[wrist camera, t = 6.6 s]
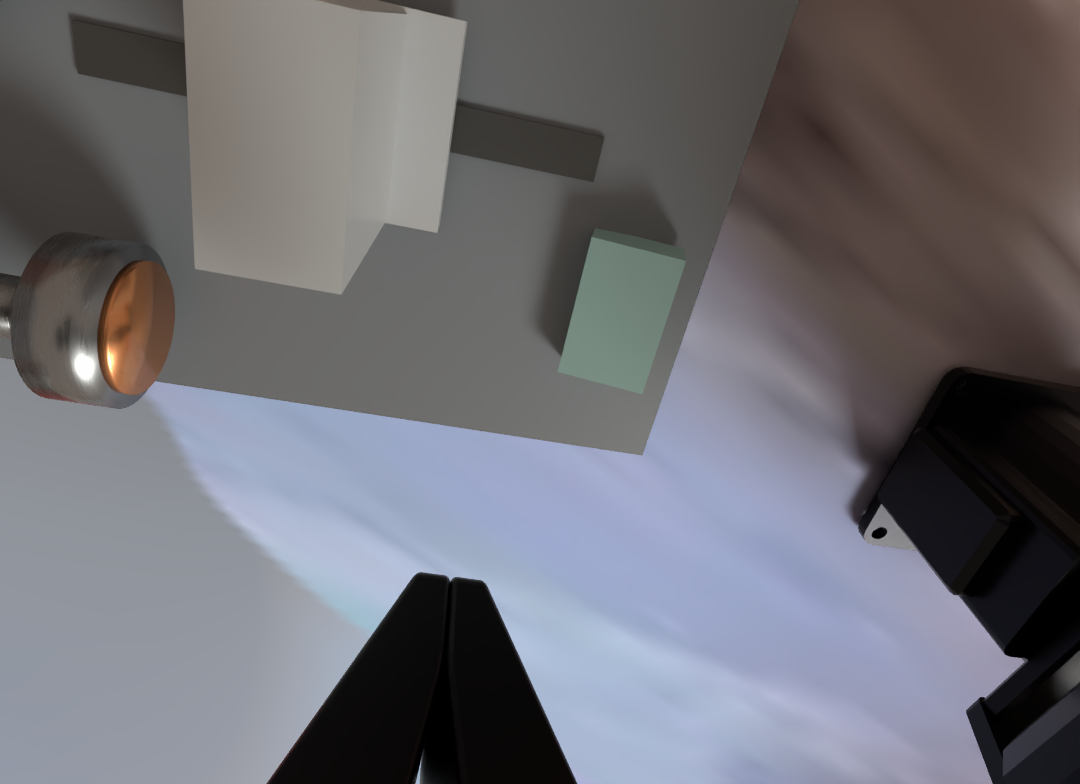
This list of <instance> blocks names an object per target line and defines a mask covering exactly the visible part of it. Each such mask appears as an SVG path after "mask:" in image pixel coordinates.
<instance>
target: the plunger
mask: <svg viewBox="0 0 1080 784" xmlns="http://www.w3.org/2000/svg"><path fill="white" fill-rule="evenodd" d="M174 323H175V300H174V292H173V288H172V284H171V281H170V278H169V276H168V274H167V271H166V268H165V265H164V263H163V261H162V259H161V258H160V256H159V255H158V253H157V252H156V251H155V250H154V249H153V248H151V247H150V246H148V245H145V244H140V243H135V242H129V241H124V240H118V239H113V238H107V237H101V236H96V235H90V234H85V233H79V232H71V231H68V232H62V233H59V234H56V235H54V236H53V237H51V238H49V239H48V240H47V241H46V242H44V243H43V244H42V245H41V246H40V247H39V248H38V249H37V250H36V252H35V253H34V254H33V256H32V257H31V259H30V260H29V262H28V263H27V265H26V267H25V269H24V271H23V273H22V276H15V275H9V274H3V273H0V338H7V339H11V346H12V353H13V357H14V361H15V364H16V367H17V370H18V372H19V374H20V376H21V378H22V379H23V381H24V383H25V384H26V385H27V387H28V388H29V389H31V390H32V391H33V392H34V393H36V394H37V395H39V396H41V397H44V398H48V399H55V400H61V401H68V402H75V403H82V404H89V405H95V406H102V407H109V408H117V409H122V408H126V407H129V406H131V405H132V404H134V403H135V402H137V401H138V400H139V399H140V398H141V397H142V396H143V395H144V394H145V392H146V391H147V390H148V388H149V387H150V386H151V385H152V384H153V383H154V382H155V380H156V379H157V377H158V376H159V374H160V372H161V370H162V368H163V366H164V364H165V361H166V359H167V356H168V353H169V350H170V346H171V342H172V337H173V331H174Z"/></svg>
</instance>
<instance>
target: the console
mask: <svg viewBox="0 0 1080 784" xmlns="http://www.w3.org/2000/svg"><path fill="white" fill-rule="evenodd" d="M380 1H384V2H388V3H392V4H397V5H401V6H405V7H409V8H413V9H417V10H422V11H426V12H430V13H434V14H438V15H443V16H447V17H451V18H455V19H459V20H463V21H468V23H467V30H466V38H465V45H464V52H463V59H462V67H461V74H460V81H459V89H458V96H457V103H456V110H455V118H454V125H453V132H452V139H451V147H450V154H449V161H448V168H447V176H446V183H445V190H444V197H443V205H442V212H441V219H440V226H439V229H438V232H437V233H435V232H430V231H425V230H419V229H414V228H409V227H404V226H399V225H393V224H388V223H384V225H383V227H382V228H381V230H380V232H379V233H378V235H377V237H376V238H375V240H374V242H373V243H372V245H371V246H370V248H369V250H368V251H367V253H366V255H365V256H364V258H363V260H362V261H361V263H360V265H359V266H358V268H357V270H356V271H355V273H354V275H353V276H352V278H351V279H350V281H349V283H348V284H347V286H346V288H345V289H344V291H343V293H342V294H341V295H340V294H334V293H329V292H323V291H317V290H312V289H306V288H300V287H295V286H289V285H283V284H278V283H272V282H266V281H261V280H255V279H249V278H244V277H238V276H232V275H227V274H221V273H215V272H210V271H204V270H198V269H195V262H194V240H193V217H192V194H191V172H190V149H189V127H188V104H187V81H186V59H185V36H184V14H183V0H0V273H3V274H9V275H15V276H22V273H23V271H24V269H25V267H26V265H27V263H28V262H29V260H30V259H31V257H32V256H33V254H34V253H35V252H36V250H37V249H38V248H39V247H40V246H41V245H42V244H43V243H44V242H46V241H47V240H48V239H49V238H51V237H53V236H54V235H56V234H59V233H62V232H68V231H71V232H79V233H85V234H90V235H96V236H101V237H107V238H113V239H118V240H124V241H129V242H135V243H140V244H145V245H148V246H150V247H151V248H153V249H154V250H155V251H156V252H157V253H158V255H159V256H160V258H161V259H162V261H163V263H164V265H165V268H166V271H167V274H168V276H169V278H170V281H171V284H172V288H173V292H174V300H175V323H174V331H173V337H172V342H171V346H170V350H169V353H168V356H167V359H166V361H165V364H164V366H163V368H162V370H161V372H160V374H159V376H158V377H157V379H156V380H155V381H158V382H164V383H171V384H177V385H184V386H190V387H197V388H203V389H210V390H217V391H223V392H230V393H236V394H243V395H249V396H256V397H263V398H269V399H276V400H282V401H289V402H295V403H302V404H308V405H315V406H322V407H328V408H335V409H341V410H348V411H354V412H361V413H368V414H374V415H381V416H387V417H394V418H400V419H407V420H413V421H420V422H427V423H433V424H440V425H446V426H453V427H459V428H466V429H472V430H479V431H486V432H492V433H499V434H505V435H512V436H518V437H525V438H532V439H538V440H545V441H551V442H558V443H564V444H571V445H577V446H584V447H591V448H597V449H604V450H610V451H617V452H623V453H630V454H637V455H643V452H644V449H645V446H646V443H647V440H648V437H649V434H650V431H651V429H652V426H653V423H654V420H655V417H656V414H657V411H658V408H659V405H660V402H661V400H662V397H663V394H664V391H665V388H666V385H667V382H668V379H669V376H670V374H671V371H672V368H673V365H674V362H675V359H676V356H677V353H678V350H679V348H680V345H681V342H682V339H683V336H684V333H685V330H686V327H687V324H688V321H689V319H690V316H691V313H692V310H693V307H694V304H695V301H696V298H697V295H698V293H699V290H700V287H701V284H702V281H703V278H704V275H705V272H706V269H707V267H708V264H709V261H710V258H711V255H712V252H713V249H714V246H715V243H716V241H717V238H718V235H719V232H720V229H721V226H722V223H723V220H724V217H725V214H726V212H727V209H728V206H729V203H730V200H731V197H732V194H733V191H734V188H735V186H736V183H737V180H738V177H739V174H740V171H741V168H742V165H743V162H744V160H745V157H746V154H747V151H748V148H749V145H750V142H751V139H752V136H753V134H754V131H755V128H756V125H757V122H758V119H759V116H760V113H761V110H762V107H763V105H764V102H765V99H766V96H767V93H768V90H769V87H770V84H771V81H772V79H773V76H774V73H775V70H776V67H777V64H778V61H779V58H780V55H781V53H782V50H783V47H784V44H785V41H786V38H787V35H788V32H789V29H790V27H791V24H792V21H793V18H794V15H795V12H796V9H797V6H798V3H799V0H380ZM0 358H7V359H14V357H13V353H12V346H11V339H7V338H0Z"/></svg>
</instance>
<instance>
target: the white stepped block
mask: <svg viewBox="0 0 1080 784" xmlns="http://www.w3.org/2000/svg"><path fill="white" fill-rule="evenodd" d="M183 14H184V36H185V59H186V81H187V104H188V127H189V149H190V172H191V194H192V217H193V240H194V262H195V269H198V270H204V271H210V272H215V273H221V274H227V275H232V276H238V277H244V278H249V279H255V280H261V281H266V282H272V283H278V284H283V285H289V286H295V287H300V288H306V289H312V290H317V291H323V292H329V293H334V294H340V295H341V294H342V293H343V291H344V289H345V288H346V286H347V284H348V283H349V281H350V279H351V278H352V276H353V275H354V273H355V271H356V270H357V268H358V266H359V265H360V263H361V261H362V260H363V258H364V256H365V255H366V253H367V251H368V250H369V248H370V246H371V245H372V243H373V242H374V240H375V238H376V237H377V235H378V233H379V232H380V230H381V228H382V227H383V225H384V223H388V224H393V225H399V226H404V227H409V228H414V229H419V230H425V231H430V232H435V233H437V232H438V229H439V226H440V219H441V212H442V205H443V197H444V190H445V183H446V176H447V168H448V161H449V154H450V147H451V139H452V132H453V125H454V118H455V110H456V103H457V96H458V89H459V81H460V74H461V67H462V59H463V52H464V45H465V38H466V30H467V23H468V21H463V20H459V19H455V18H451V17H447V16H443V15H438V14H434V13H430V12H426V11H422V10H417V9H413V8H409V7H405V6H401V5H397V4H392V3H388V2H384V1H380V0H183Z"/></svg>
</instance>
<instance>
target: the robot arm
mask: <svg viewBox="0 0 1080 784" xmlns="http://www.w3.org/2000/svg"><path fill="white" fill-rule="evenodd" d="M965 381H966V383H965V384H964V385H963V387H961V388H959V389H957V388H958V386H959V385H960V384H961V383H963V382H965ZM877 528H878V529H877ZM858 529H859V532H860V534H861V535H862V537H863V538H864V540H865V541H866V542H867V543H869V544H872V545H879V546H886V547H893V548H900V549H907V550H914V551H918V552H919V553H920V554H921V556H922V557H923V558H924V559H925V561H926V562H927V563H928V565H929V566H930V567H931V569H932V570H933V571H934V572H935V574H936V575H937V576H938V578H939V579H940V580H941V581H942V583H943V584H944V585H945V587H946V588H947V589H948V590H949V592H951V593H952V594H953V595H959V597H960V598H961V599H962V600H963V602H964V603H965V604H966V605H967V607H968V608H969V609H970V611H971V612H972V613H973V614H974V616H975V617H976V618H977V619H978V621H979V622H980V623H981V625H982V626H983V627H984V628H985V630H986V631H987V632H988V633H989V635H990V636H991V637H992V639H993V640H994V641H995V642H996V644H997V645H998V646H999V647H1000V649H1001V650H1002V651H1003V652H1004V654H1005V655H1007V656H1010V657H1018V658H1022V659H1023V660H1024V663H1023V664H1022V665H1021V666H1020V667H1019V668H1018V669H1017V670H1016V671H1014V672H1013V673H1012V674H1011V675H1010V676H1009V677H1008V678H1007V679H1006V680H1005V681H1004V682H1003V683H1001V684H1000V685H999V686H998V687H997V688H996V689H995V690H994V691H993V692H992V693H991V694H989V695H988V696H987V697H986V698H984V697H980V698H979V699H978V700H977V701H976V702H975V703H973V704H972V705H971V706H970V707H969V708H968V709H967V710H966V713H967V716H968V719H969V721H970V724H971V727H972V729H973V732H974V735H975V737H976V740H977V743H978V745H979V748H980V751H981V753H982V756H983V759H984V761H985V764H986V767H987V769H988V772H989V775H990V777H991V780H992V783H993V784H1080V388H1077V387H1072V386H1066V385H1061V384H1056V383H1050V382H1045V381H1039V380H1034V379H1029V378H1023V377H1018V376H1012V375H1007V374H1002V373H996V372H991V371H985V370H980V369H975V368H969V367H958V368H955V369H953V370H951V371H950V372H948V373H947V374H946V375H945V376H944V378H943V379H942V380H941V382H940V384H939V386H938V387H937V389H936V391H935V393H934V394H933V396H932V398H931V400H930V401H929V403H928V405H927V407H926V408H925V410H924V412H923V414H922V415H921V417H920V419H919V421H918V422H917V424H916V426H915V428H914V429H913V431H912V433H911V435H910V436H909V438H908V440H907V441H906V443H905V445H904V447H903V448H902V450H901V452H900V454H899V455H898V457H897V459H896V461H895V462H894V464H893V466H892V468H891V469H890V471H889V473H888V475H887V476H886V478H885V480H884V482H883V483H882V485H881V487H880V489H879V490H878V492H877V494H876V496H875V497H874V499H873V501H872V503H871V504H870V506H869V508H868V510H867V511H866V513H865V515H864V516H863V518H862V520H861V522H860V524H859V527H858ZM875 529H877V530H875ZM421 757H422V760H421ZM420 761H421V771H420V772H421V773H420V784H577V782H576V780H575V778H574V775H573V773H572V771H571V769H570V767H569V764H568V762H567V760H566V758H565V756H564V753H563V751H562V749H561V747H560V745H559V743H558V740H557V738H556V736H555V734H554V732H553V729H552V727H551V725H550V723H549V721H548V718H547V716H546V714H545V712H544V710H543V707H542V705H541V703H540V701H539V699H538V697H537V694H536V692H535V690H534V688H533V686H532V683H531V681H530V679H529V677H528V675H527V672H526V670H525V668H524V666H523V664H522V661H521V659H520V657H519V655H518V653H517V651H516V648H515V646H514V644H513V642H512V640H511V637H510V635H509V633H508V631H507V629H506V626H505V624H504V622H503V620H502V618H501V615H500V613H499V611H498V609H497V607H496V605H495V602H494V600H493V598H492V596H491V594H490V591H489V589H488V587H487V585H486V584H485V583H484V582H483V581H481V580H474V579H467V578H460V577H455V578H453V579H452V580H451V581H450V580H449V578H448V577H447V576H445V575H437V574H430V573H422V572H419V573H417V574H416V575H415V576H414V577H413V578H412V579H411V581H410V582H409V583H408V585H407V586H406V588H405V589H404V590H403V592H402V593H401V595H400V596H399V598H398V599H397V600H396V602H395V603H394V605H393V606H392V607H391V609H390V610H389V612H388V613H387V614H386V616H385V617H384V619H383V620H382V622H381V623H380V624H379V626H378V627H377V629H376V630H375V631H374V633H373V634H372V636H371V637H370V638H369V640H368V641H367V643H366V644H365V646H364V647H363V648H362V650H361V651H360V653H359V654H358V655H357V657H356V658H355V660H354V661H353V662H352V664H351V665H350V667H349V668H348V670H347V671H346V672H345V674H344V675H343V677H342V678H341V679H340V681H339V682H338V684H337V685H336V686H335V688H334V689H333V691H332V692H331V694H330V695H329V696H328V698H327V699H326V701H325V702H324V704H323V705H322V706H321V708H320V709H319V711H318V712H317V713H316V715H315V716H314V718H313V719H312V720H311V722H310V723H309V725H308V726H307V727H306V729H305V730H304V732H303V733H302V734H301V736H300V738H299V739H298V740H297V742H296V743H295V744H294V746H293V747H292V749H291V750H290V751H289V753H288V754H287V756H286V757H285V758H284V760H283V761H282V763H281V764H280V766H279V767H278V768H277V770H276V771H275V773H274V774H273V775H272V777H271V778H270V780H269V781H268V782H267V784H415V783H416V779H417V774H418V770H419V766H420Z"/></svg>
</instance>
